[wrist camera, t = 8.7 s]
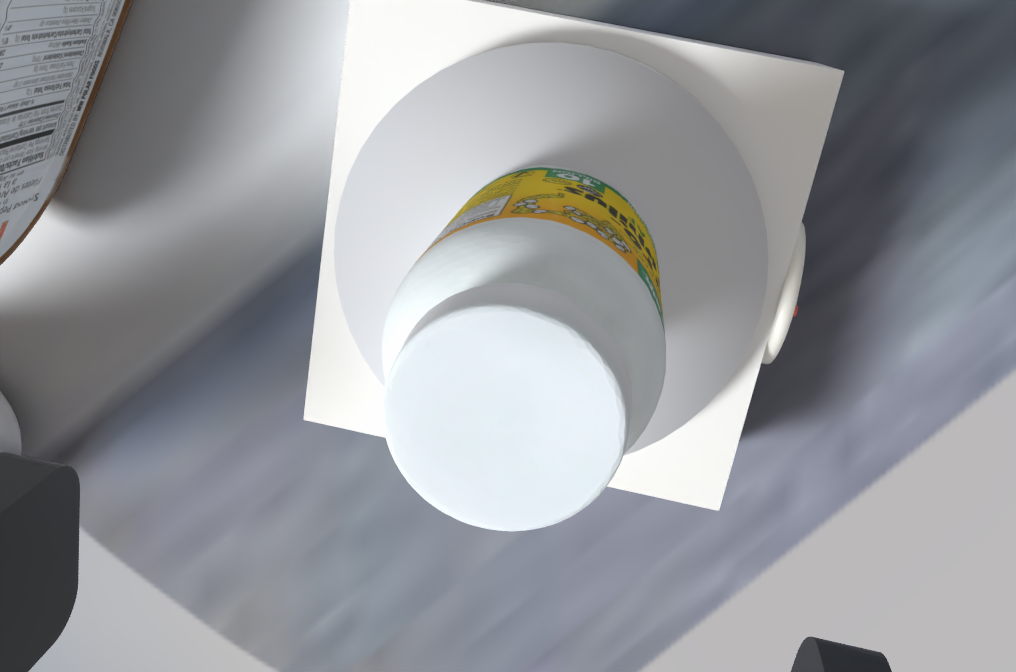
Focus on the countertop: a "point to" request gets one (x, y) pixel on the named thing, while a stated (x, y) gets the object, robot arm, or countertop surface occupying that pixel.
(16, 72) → the tin
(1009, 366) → the countertop surface
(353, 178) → the kitchen scale
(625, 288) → the supplement bottle
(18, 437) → the plastic bottle
